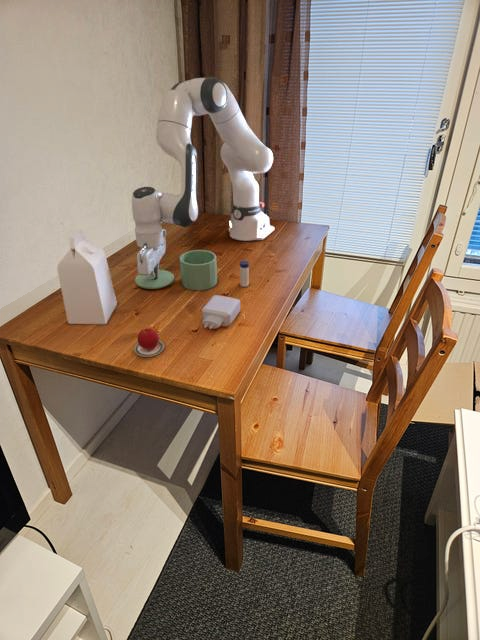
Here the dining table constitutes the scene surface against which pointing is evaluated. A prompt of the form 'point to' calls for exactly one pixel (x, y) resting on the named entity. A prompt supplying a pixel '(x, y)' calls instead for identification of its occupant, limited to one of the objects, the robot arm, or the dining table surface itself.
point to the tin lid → (155, 280)
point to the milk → (86, 283)
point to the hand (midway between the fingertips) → (154, 275)
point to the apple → (148, 343)
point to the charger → (220, 311)
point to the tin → (198, 269)
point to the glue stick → (244, 273)
